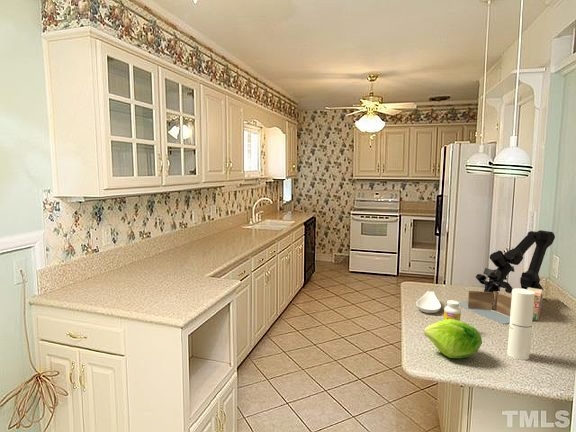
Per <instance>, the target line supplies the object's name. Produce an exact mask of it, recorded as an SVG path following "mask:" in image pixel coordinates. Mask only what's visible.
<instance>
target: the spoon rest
mask: <svg viewBox="0 0 576 432" xmlns="http://www.w3.org/2000/svg"><path fill="white" fill-rule="evenodd" d="M415 305H416V308H417V309H418V310H419V311H420V312H422V313H425V314H436V313H439V311H440V310H441V308H442V304H441V302H440V300H439V299H438V298H437V296H436V294H435V291H430V290H427V291H426V292H424V293H423V295H422V296H420V298H418V300H417V301H416V302H415Z"/></svg>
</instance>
